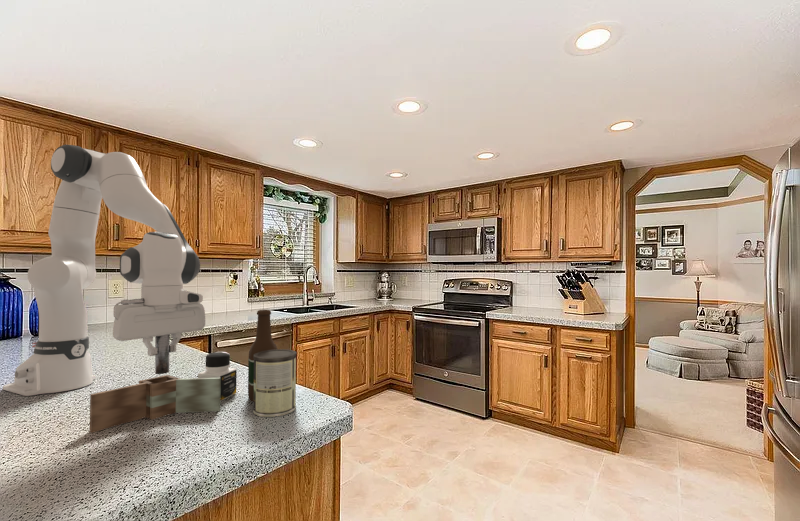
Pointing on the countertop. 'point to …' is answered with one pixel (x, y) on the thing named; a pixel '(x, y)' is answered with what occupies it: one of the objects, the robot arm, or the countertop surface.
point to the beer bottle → (259, 346)
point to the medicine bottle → (221, 372)
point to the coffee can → (274, 382)
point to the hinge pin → (162, 354)
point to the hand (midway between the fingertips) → (162, 353)
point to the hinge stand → (153, 400)
